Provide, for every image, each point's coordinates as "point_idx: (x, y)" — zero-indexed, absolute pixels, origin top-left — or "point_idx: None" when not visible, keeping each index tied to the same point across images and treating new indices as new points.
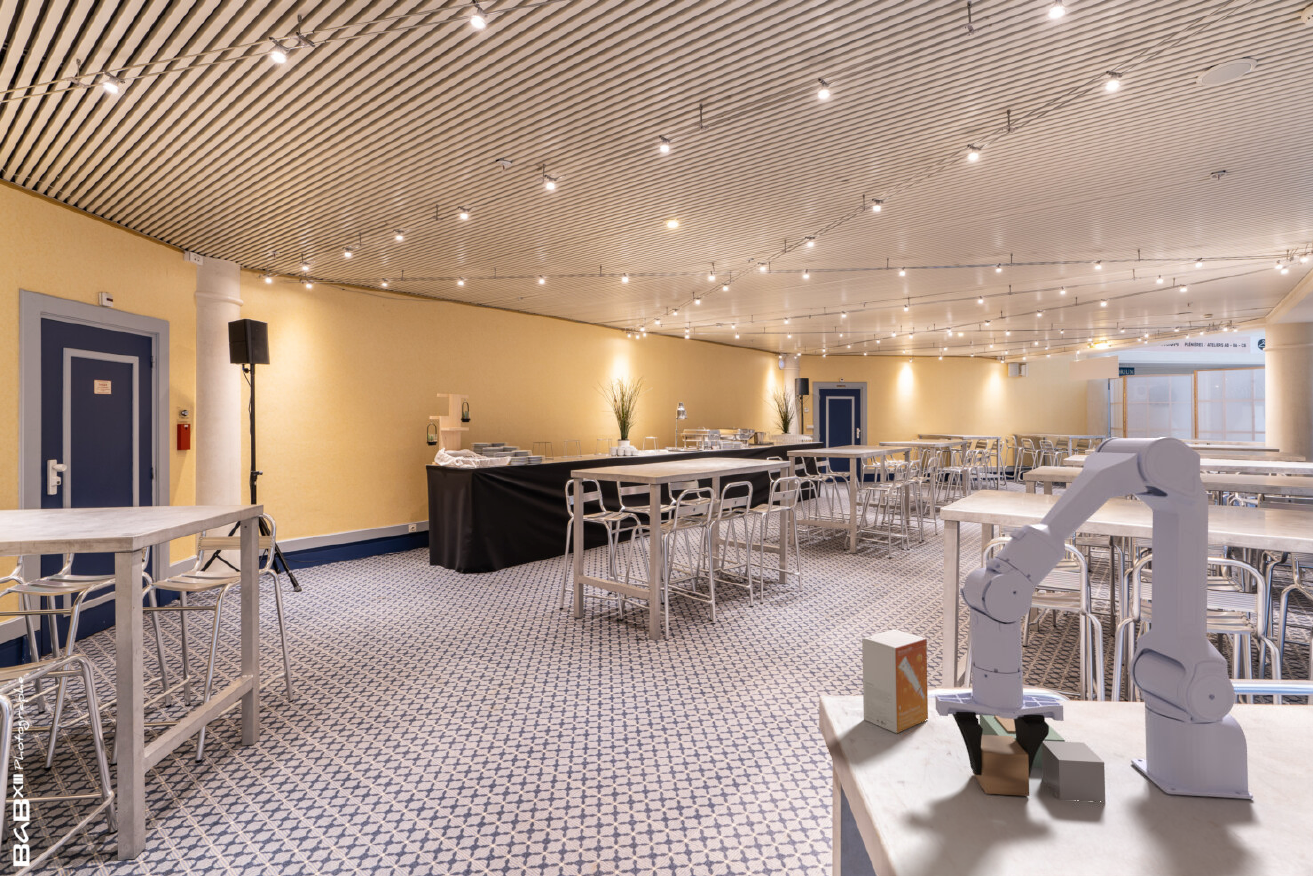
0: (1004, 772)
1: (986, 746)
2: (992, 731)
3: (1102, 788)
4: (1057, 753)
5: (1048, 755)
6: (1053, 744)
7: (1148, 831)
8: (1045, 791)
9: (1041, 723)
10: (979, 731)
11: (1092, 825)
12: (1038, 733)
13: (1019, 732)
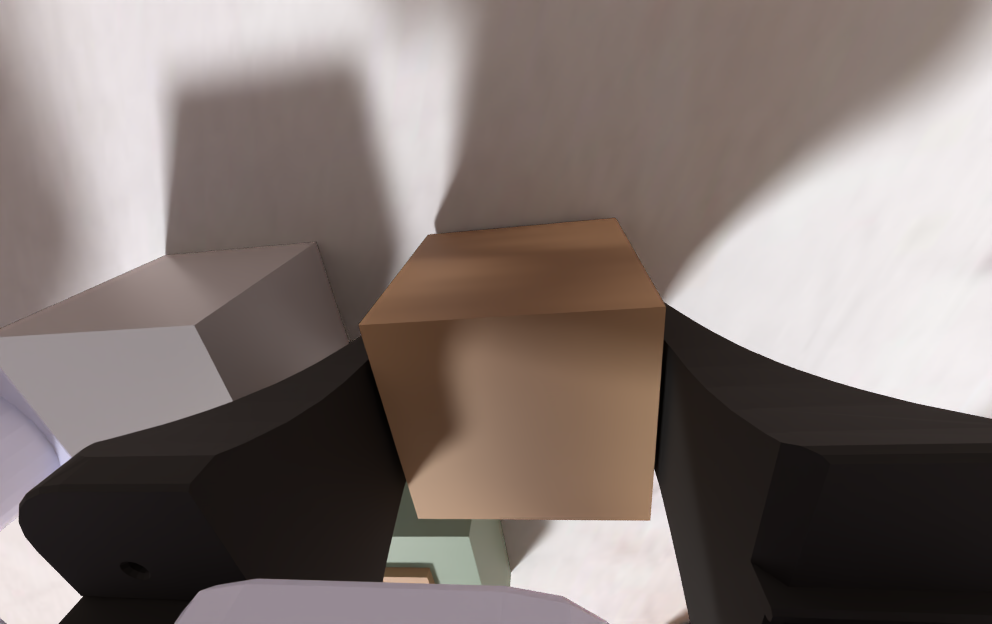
0: (525, 262)
1: (612, 399)
2: (485, 579)
3: (123, 276)
4: (205, 394)
5: None
6: None
7: (4, 64)
8: (361, 297)
9: (94, 566)
10: (792, 429)
11: (202, 52)
12: (166, 444)
13: (365, 518)
